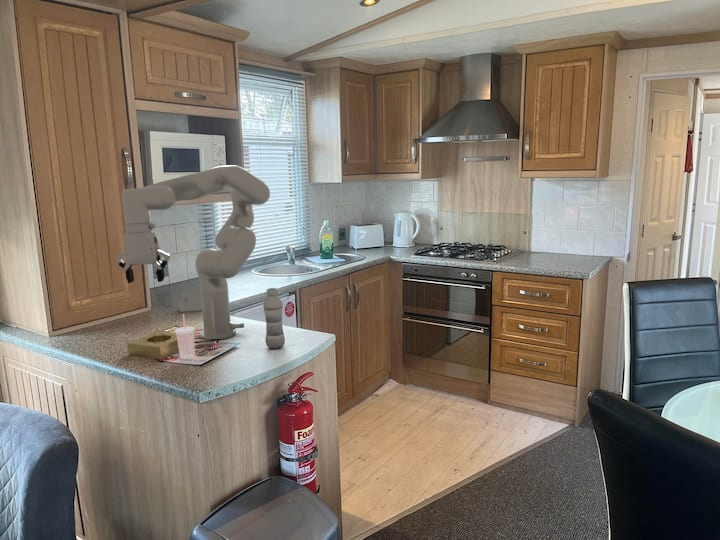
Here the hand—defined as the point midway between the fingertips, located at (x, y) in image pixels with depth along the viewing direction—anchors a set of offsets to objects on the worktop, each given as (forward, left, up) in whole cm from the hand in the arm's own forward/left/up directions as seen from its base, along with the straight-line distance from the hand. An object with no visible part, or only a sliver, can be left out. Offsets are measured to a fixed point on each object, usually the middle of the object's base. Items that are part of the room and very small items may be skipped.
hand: (146, 281), depth 169 cm
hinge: (-20, -56, -25) cm, 65 cm away
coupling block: (-2, -4, -25) cm, 25 cm away
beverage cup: (-10, +6, -25) cm, 27 cm away
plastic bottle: (-38, +11, -25) cm, 47 cm away
